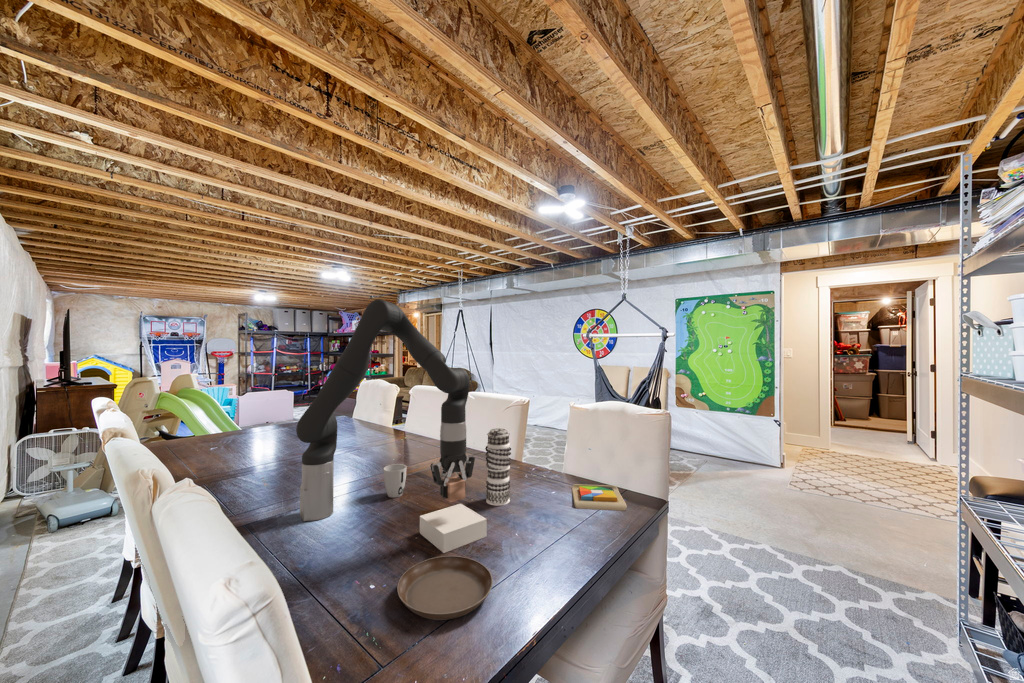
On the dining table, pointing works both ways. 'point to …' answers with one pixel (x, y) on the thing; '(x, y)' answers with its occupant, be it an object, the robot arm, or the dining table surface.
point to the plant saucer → (444, 587)
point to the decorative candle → (498, 467)
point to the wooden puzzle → (598, 497)
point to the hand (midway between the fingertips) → (453, 495)
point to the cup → (395, 479)
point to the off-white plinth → (453, 527)
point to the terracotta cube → (455, 489)
